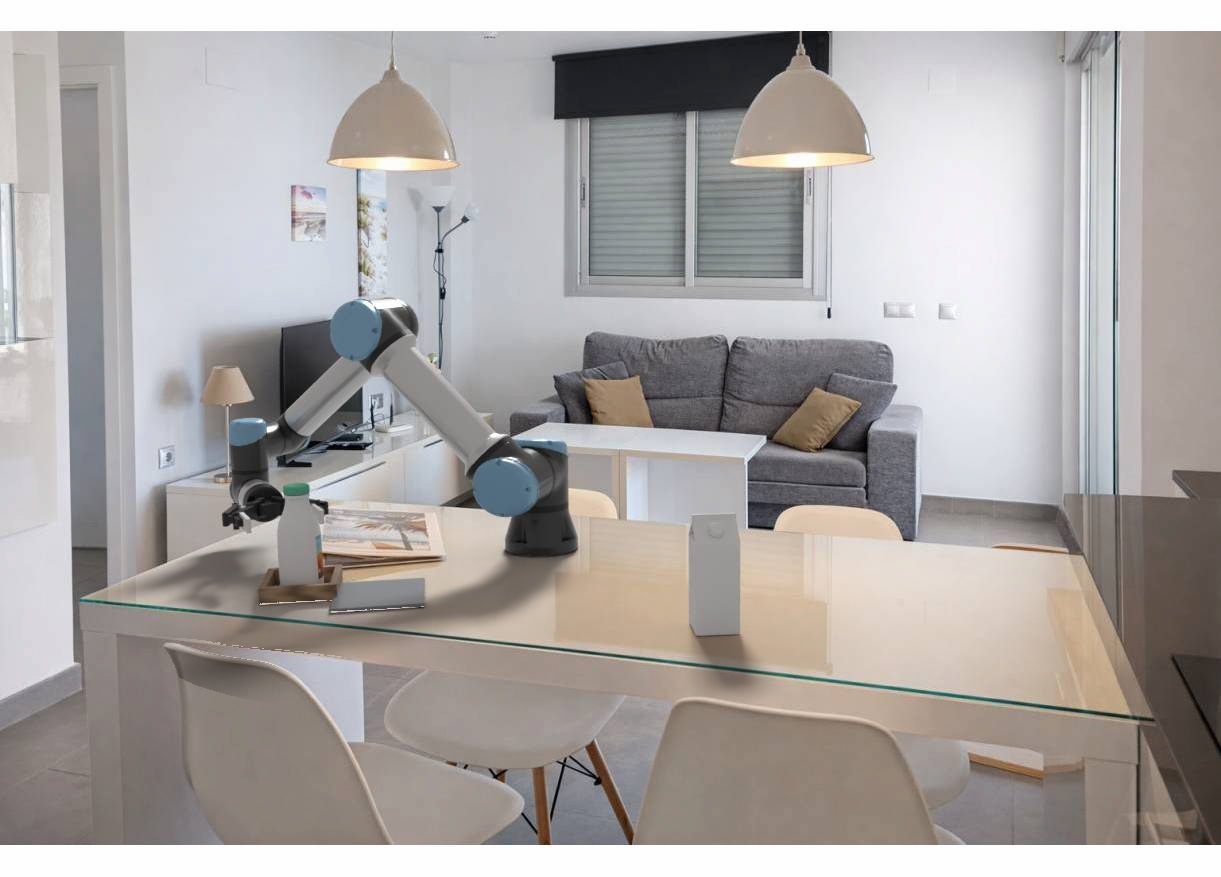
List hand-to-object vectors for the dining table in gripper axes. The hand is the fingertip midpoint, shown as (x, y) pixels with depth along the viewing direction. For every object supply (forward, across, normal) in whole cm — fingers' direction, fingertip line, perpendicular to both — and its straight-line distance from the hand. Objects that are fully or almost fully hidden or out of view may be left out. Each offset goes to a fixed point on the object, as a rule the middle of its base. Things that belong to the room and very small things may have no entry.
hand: (286, 521), depth 209 cm
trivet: (+20, -11, -11) cm, 26 cm away
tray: (+10, 0, -11) cm, 15 cm away
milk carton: (+66, -52, -11) cm, 85 cm away
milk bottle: (+10, 0, -11) cm, 15 cm away
